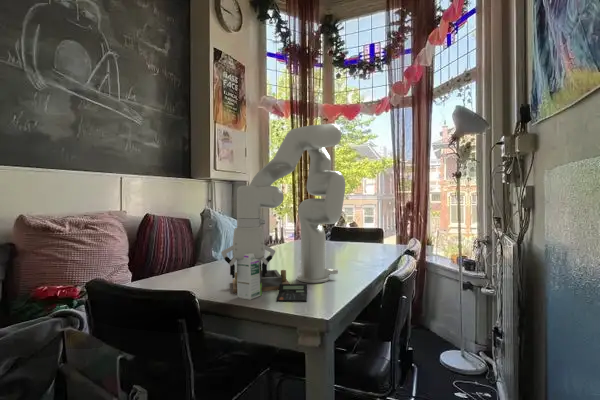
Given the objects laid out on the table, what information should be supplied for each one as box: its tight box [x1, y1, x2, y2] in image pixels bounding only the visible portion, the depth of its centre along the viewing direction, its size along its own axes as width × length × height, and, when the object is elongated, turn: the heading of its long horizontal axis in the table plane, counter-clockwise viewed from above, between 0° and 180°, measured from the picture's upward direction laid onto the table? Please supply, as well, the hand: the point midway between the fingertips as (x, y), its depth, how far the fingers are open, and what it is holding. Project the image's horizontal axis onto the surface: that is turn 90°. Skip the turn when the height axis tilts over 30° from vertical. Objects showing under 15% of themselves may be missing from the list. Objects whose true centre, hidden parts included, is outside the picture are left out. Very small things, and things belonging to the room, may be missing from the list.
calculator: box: [275, 283, 308, 303], centre depth 113 cm, size 9×12×3 cm
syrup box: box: [236, 253, 263, 301], centre depth 113 cm, size 6×6×14 cm
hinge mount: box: [232, 269, 291, 294], centre depth 127 cm, size 20×15×5 cm
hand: (248, 276), depth 113 cm, fingers open, 9 cm apart
